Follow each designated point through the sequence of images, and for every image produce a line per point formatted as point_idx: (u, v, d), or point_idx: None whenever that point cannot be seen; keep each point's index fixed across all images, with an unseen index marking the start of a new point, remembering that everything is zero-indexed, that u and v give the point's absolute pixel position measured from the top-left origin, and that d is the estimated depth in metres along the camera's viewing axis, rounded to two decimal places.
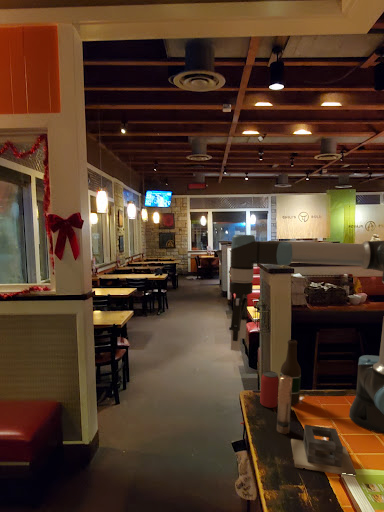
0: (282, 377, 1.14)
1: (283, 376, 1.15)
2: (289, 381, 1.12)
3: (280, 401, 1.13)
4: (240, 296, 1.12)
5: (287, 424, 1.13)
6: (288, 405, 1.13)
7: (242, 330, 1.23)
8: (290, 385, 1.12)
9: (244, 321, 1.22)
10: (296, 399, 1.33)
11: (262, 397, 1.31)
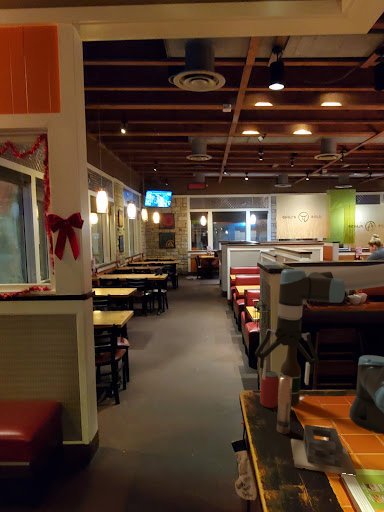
0: (282, 377, 1.14)
1: (283, 376, 1.15)
2: (289, 381, 1.12)
3: (280, 401, 1.13)
4: (276, 329, 1.13)
5: (287, 424, 1.13)
6: (288, 405, 1.13)
7: (305, 374, 1.12)
8: (290, 385, 1.12)
9: (307, 365, 1.12)
10: (296, 399, 1.33)
11: (262, 397, 1.31)
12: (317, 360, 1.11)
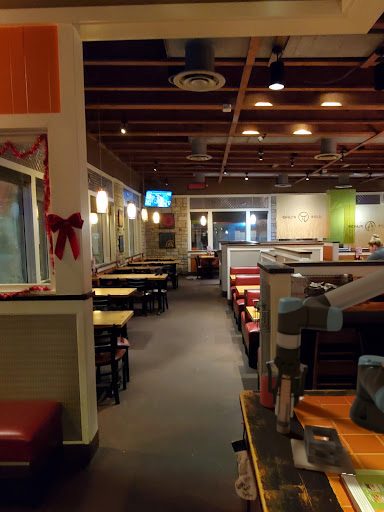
0: (282, 377, 1.14)
1: (283, 376, 1.15)
2: (289, 381, 1.12)
3: (280, 401, 1.13)
4: None
5: (287, 424, 1.13)
6: (288, 405, 1.13)
7: None
8: (290, 385, 1.12)
9: (291, 398, 1.13)
10: None
11: (262, 397, 1.31)
12: (302, 393, 1.12)
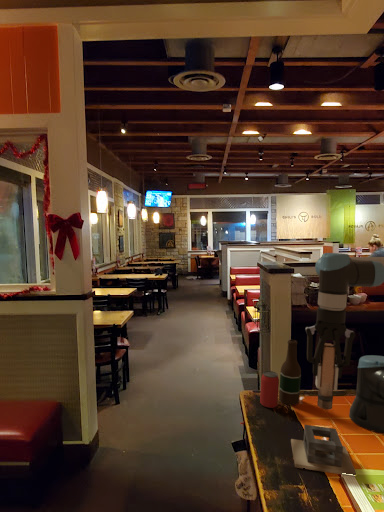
0: (324, 345, 0.99)
1: (325, 344, 1.00)
2: (333, 349, 0.97)
3: (322, 372, 0.99)
4: None
5: (330, 398, 0.99)
6: (332, 376, 0.98)
7: None
8: (334, 353, 0.98)
9: (335, 368, 0.99)
10: (296, 399, 1.33)
11: (262, 397, 1.31)
12: (348, 362, 0.97)
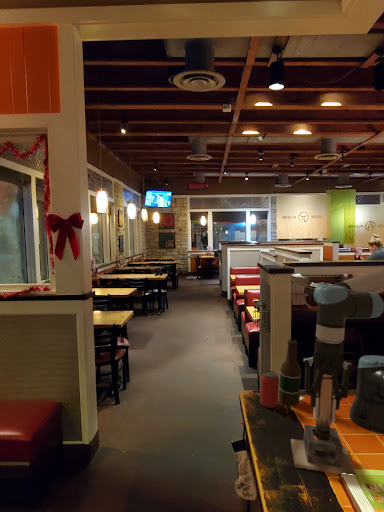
0: (322, 376, 1.00)
1: (323, 375, 1.01)
2: (331, 381, 0.98)
3: (320, 404, 0.99)
4: None
5: (328, 430, 0.99)
6: (329, 408, 0.99)
7: None
8: (332, 385, 0.98)
9: None
10: (296, 399, 1.33)
11: (262, 397, 1.31)
12: (345, 394, 0.98)
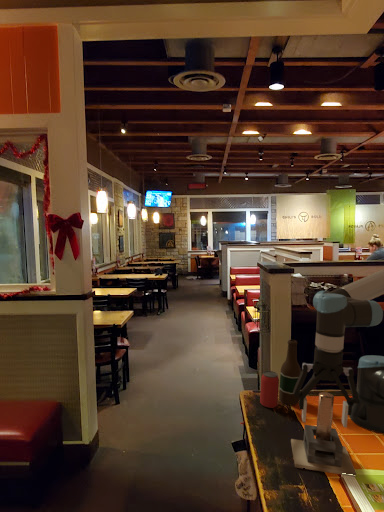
0: (322, 394, 1.00)
1: (323, 393, 1.01)
2: (331, 399, 0.98)
3: (320, 422, 1.00)
4: (313, 362, 1.00)
5: None
6: (329, 427, 0.99)
7: (343, 415, 1.00)
8: (332, 404, 0.99)
9: (345, 405, 0.99)
10: (296, 399, 1.33)
11: (262, 397, 1.31)
12: (357, 400, 0.98)
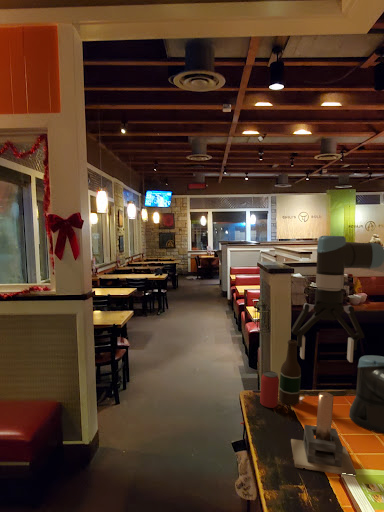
0: (321, 394, 1.00)
1: (322, 393, 1.01)
2: (330, 399, 0.98)
3: (319, 422, 1.00)
4: (315, 303, 1.02)
5: None
6: (329, 427, 0.99)
7: (349, 351, 1.02)
8: (331, 404, 0.99)
9: (350, 340, 1.01)
10: (296, 399, 1.33)
11: (262, 397, 1.31)
12: (362, 334, 1.00)
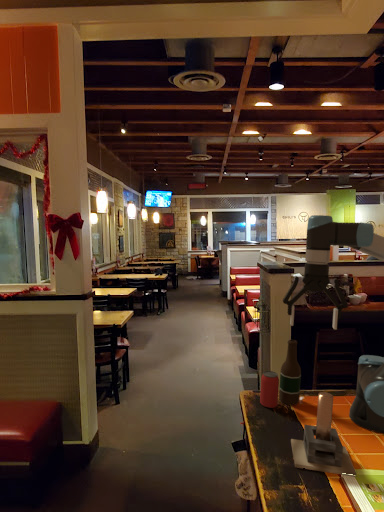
0: (321, 394, 1.00)
1: (322, 393, 1.01)
2: (330, 399, 0.99)
3: (319, 422, 1.00)
4: (304, 275, 1.14)
5: None
6: (329, 426, 0.99)
7: (334, 319, 1.14)
8: (331, 404, 0.99)
9: (335, 310, 1.13)
10: (296, 399, 1.33)
11: (262, 397, 1.31)
12: (345, 304, 1.12)
